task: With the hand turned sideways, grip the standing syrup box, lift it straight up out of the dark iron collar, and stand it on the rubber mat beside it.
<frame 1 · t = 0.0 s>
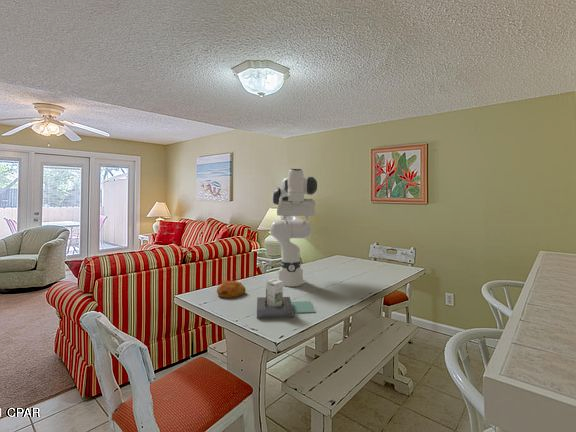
hand: (295, 224, 163), 39 cm above the table, tool pointing down, fingers open, 8 cm apart
rubber mat: (302, 307, 149), on the table
iron collar: (274, 311, 144), on the table
croissant: (230, 294, 167), on the table
syrup box: (274, 311, 144), resting in iron collar
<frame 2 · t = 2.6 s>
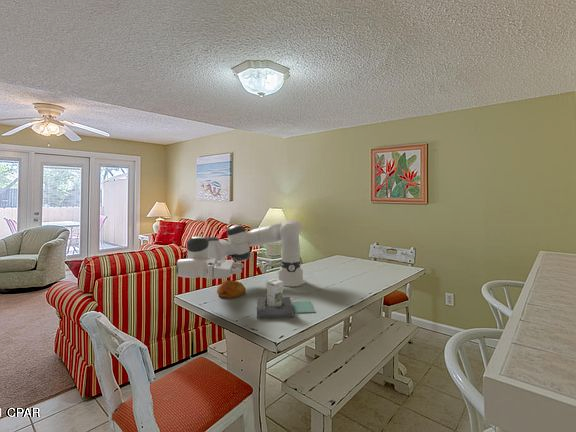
hand: (242, 268, 141), 21 cm above the table, tool horizontal, fingers open, 8 cm apart
nothing on the table moved.
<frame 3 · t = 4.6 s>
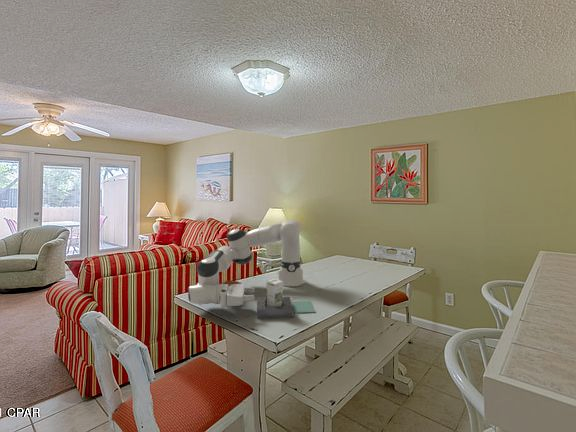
hand: (254, 293, 142), 9 cm above the table, tool horizontal, fingers open, 8 cm apart
nothing on the table moved.
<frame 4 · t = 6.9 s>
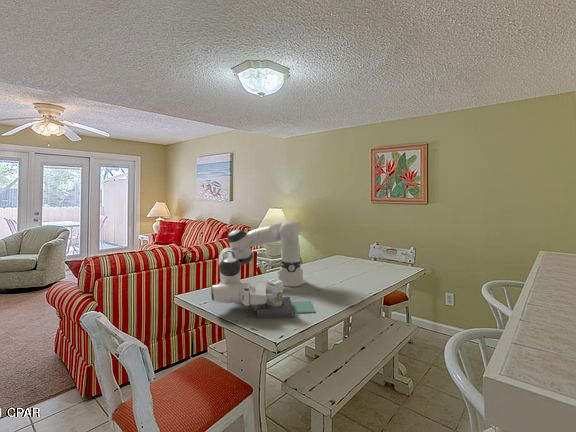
hand: (276, 292, 143), 9 cm above the table, tool horizontal, fingers closed on syrup box, 8 cm apart
syrup box: (274, 311, 144), resting in iron collar, touching gripper
everything else where it was.
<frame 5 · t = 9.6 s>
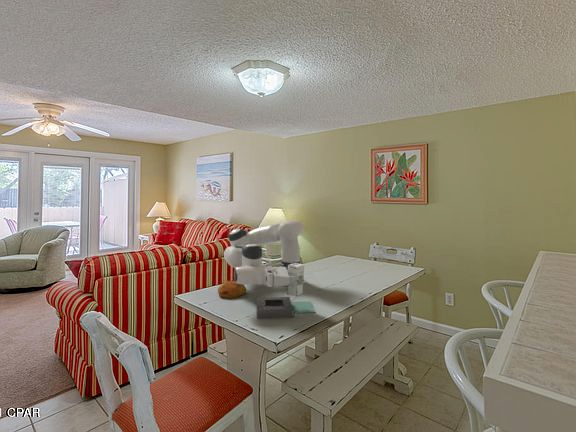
hand: (297, 275, 146), 16 cm above the table, tool horizontal, fingers closed on syrup box, 8 cm apart
syrup box: (295, 294, 146), point 7 cm above the table, touching gripper
everything else where it was.
when the fingers open (11 cm above the table, at t = 12.1 s): syrup box drops 1 cm, resting on rubber mat.
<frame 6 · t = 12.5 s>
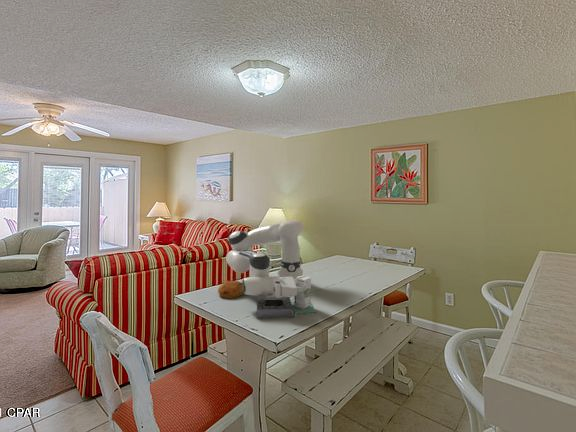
hand: (304, 285, 148), 11 cm above the table, tool horizontal, fingers open, 8 cm apart
syrup box: (302, 307, 149), resting on rubber mat, touching gripper
everything else where it was.
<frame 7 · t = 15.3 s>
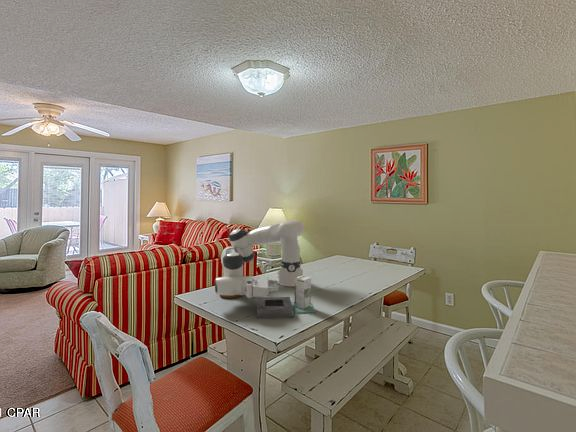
hand: (277, 285, 147), 11 cm above the table, tool horizontal, fingers open, 8 cm apart
syrup box: (302, 307, 149), resting on rubber mat
everything else where it was.
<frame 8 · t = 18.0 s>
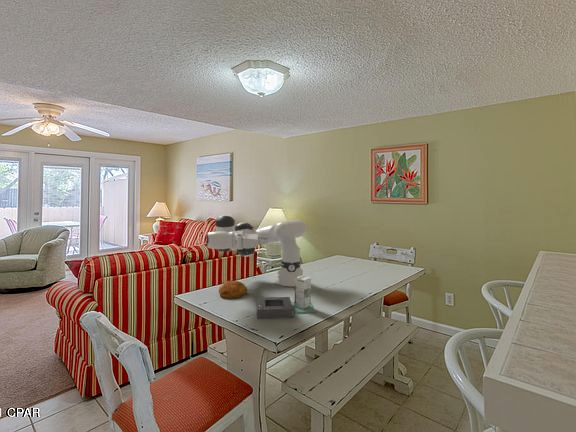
hand: (267, 240, 152), 32 cm above the table, tool horizontal, fingers open, 8 cm apart
at the end: syrup box inside the target area on the rubber mat (0.2 cm from its centre), point 0.3 cm above the rubber mat's base; syrup box tilted 0°; the gripper is holding nothing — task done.
